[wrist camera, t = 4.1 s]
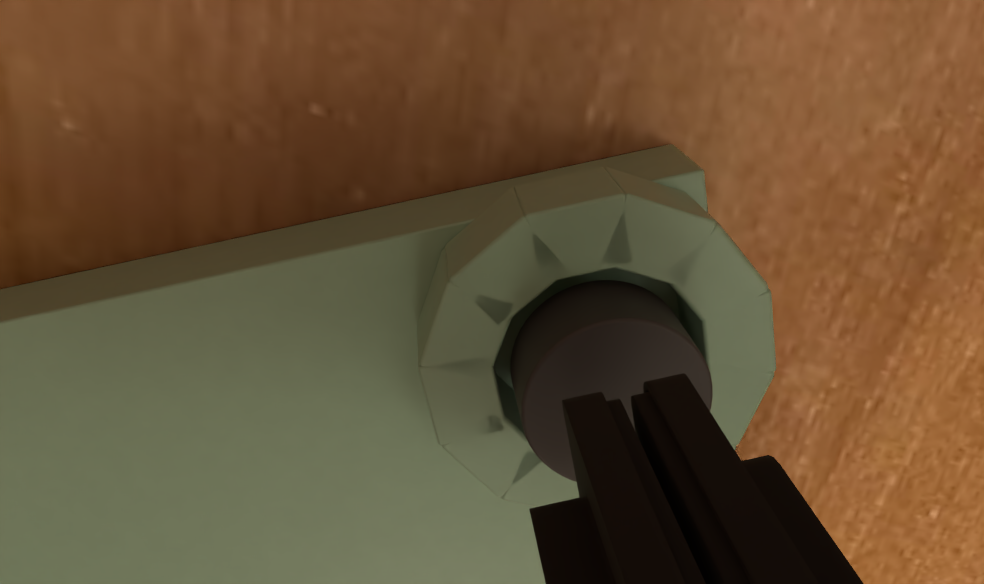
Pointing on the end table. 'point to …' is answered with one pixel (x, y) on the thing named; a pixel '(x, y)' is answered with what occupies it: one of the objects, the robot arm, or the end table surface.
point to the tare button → (595, 358)
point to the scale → (341, 384)
